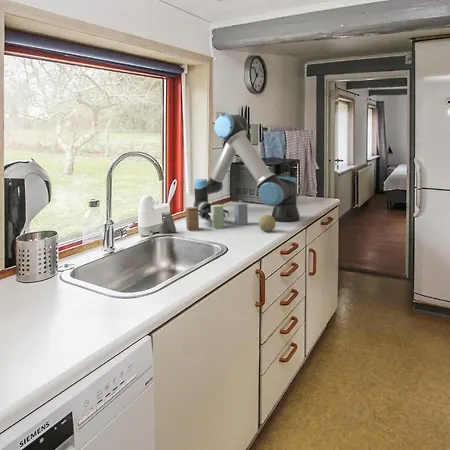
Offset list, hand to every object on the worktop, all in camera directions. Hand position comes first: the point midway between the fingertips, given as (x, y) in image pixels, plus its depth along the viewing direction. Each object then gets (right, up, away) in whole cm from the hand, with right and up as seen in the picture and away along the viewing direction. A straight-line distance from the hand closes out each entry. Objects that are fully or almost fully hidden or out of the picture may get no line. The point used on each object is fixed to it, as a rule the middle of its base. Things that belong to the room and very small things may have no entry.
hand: (220, 217), depth 219 cm
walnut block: (-14, -6, +2) cm, 15 cm away
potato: (+23, -7, -7) cm, 25 cm away
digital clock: (-29, -7, 0) cm, 30 cm away
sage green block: (-1, -5, +6) cm, 8 cm away
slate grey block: (+11, -4, +10) cm, 15 cm away
